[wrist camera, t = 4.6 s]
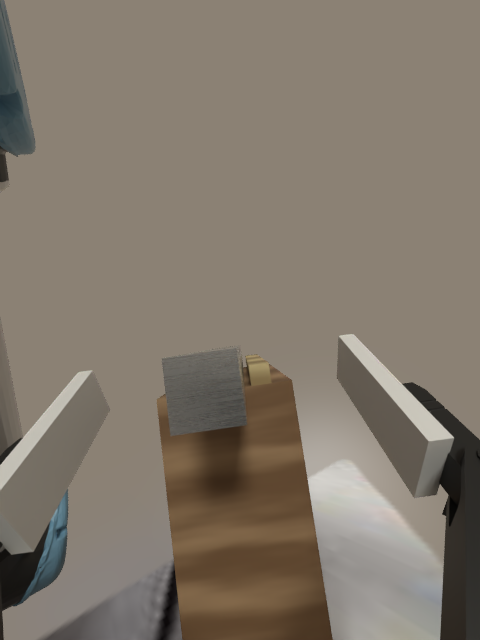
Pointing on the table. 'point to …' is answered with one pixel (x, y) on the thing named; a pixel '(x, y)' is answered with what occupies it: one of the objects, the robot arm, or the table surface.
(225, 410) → the block
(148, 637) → the table surface
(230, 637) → the wooden rectangular column
